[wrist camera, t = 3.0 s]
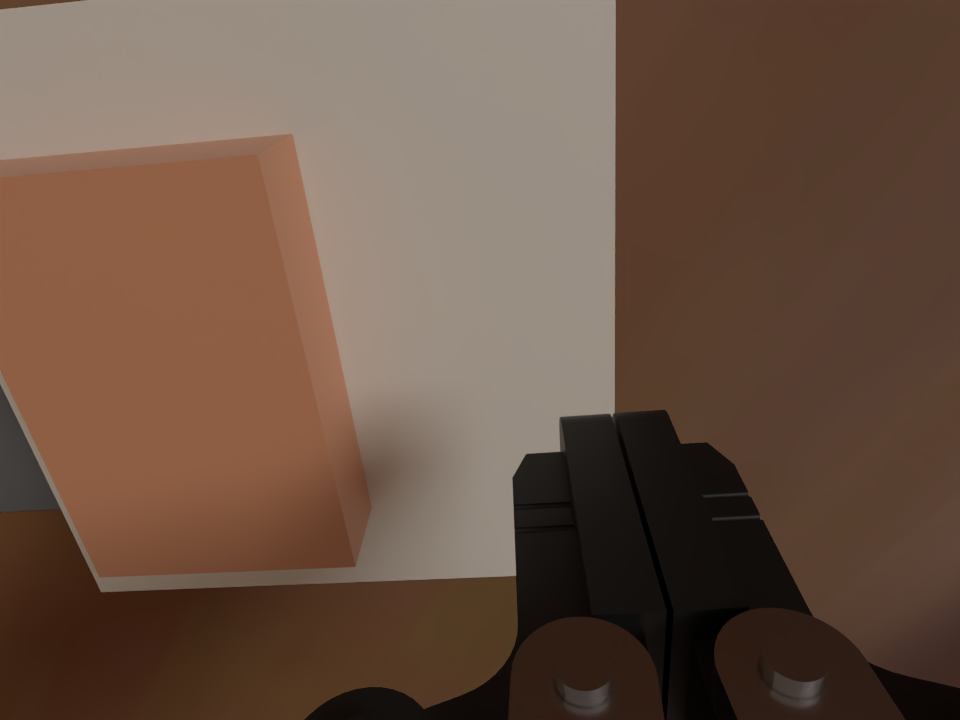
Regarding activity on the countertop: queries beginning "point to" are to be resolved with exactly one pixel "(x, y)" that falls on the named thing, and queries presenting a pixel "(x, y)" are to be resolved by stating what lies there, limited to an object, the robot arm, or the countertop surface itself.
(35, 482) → the mat
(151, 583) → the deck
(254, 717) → the countertop surface
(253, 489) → the block
